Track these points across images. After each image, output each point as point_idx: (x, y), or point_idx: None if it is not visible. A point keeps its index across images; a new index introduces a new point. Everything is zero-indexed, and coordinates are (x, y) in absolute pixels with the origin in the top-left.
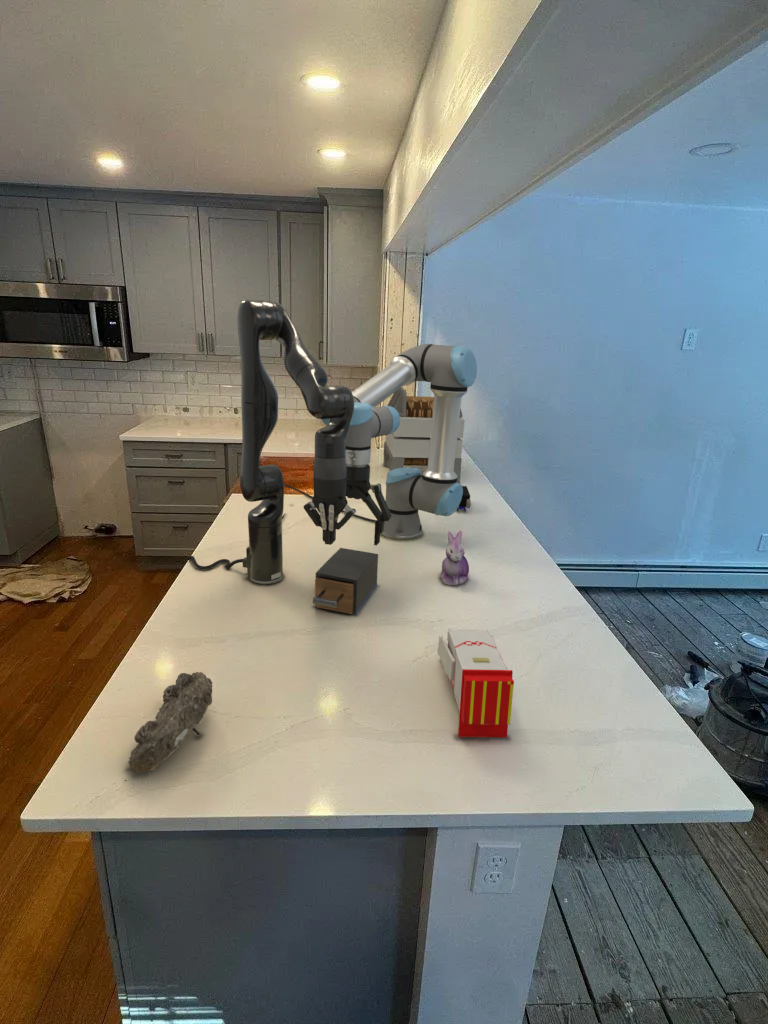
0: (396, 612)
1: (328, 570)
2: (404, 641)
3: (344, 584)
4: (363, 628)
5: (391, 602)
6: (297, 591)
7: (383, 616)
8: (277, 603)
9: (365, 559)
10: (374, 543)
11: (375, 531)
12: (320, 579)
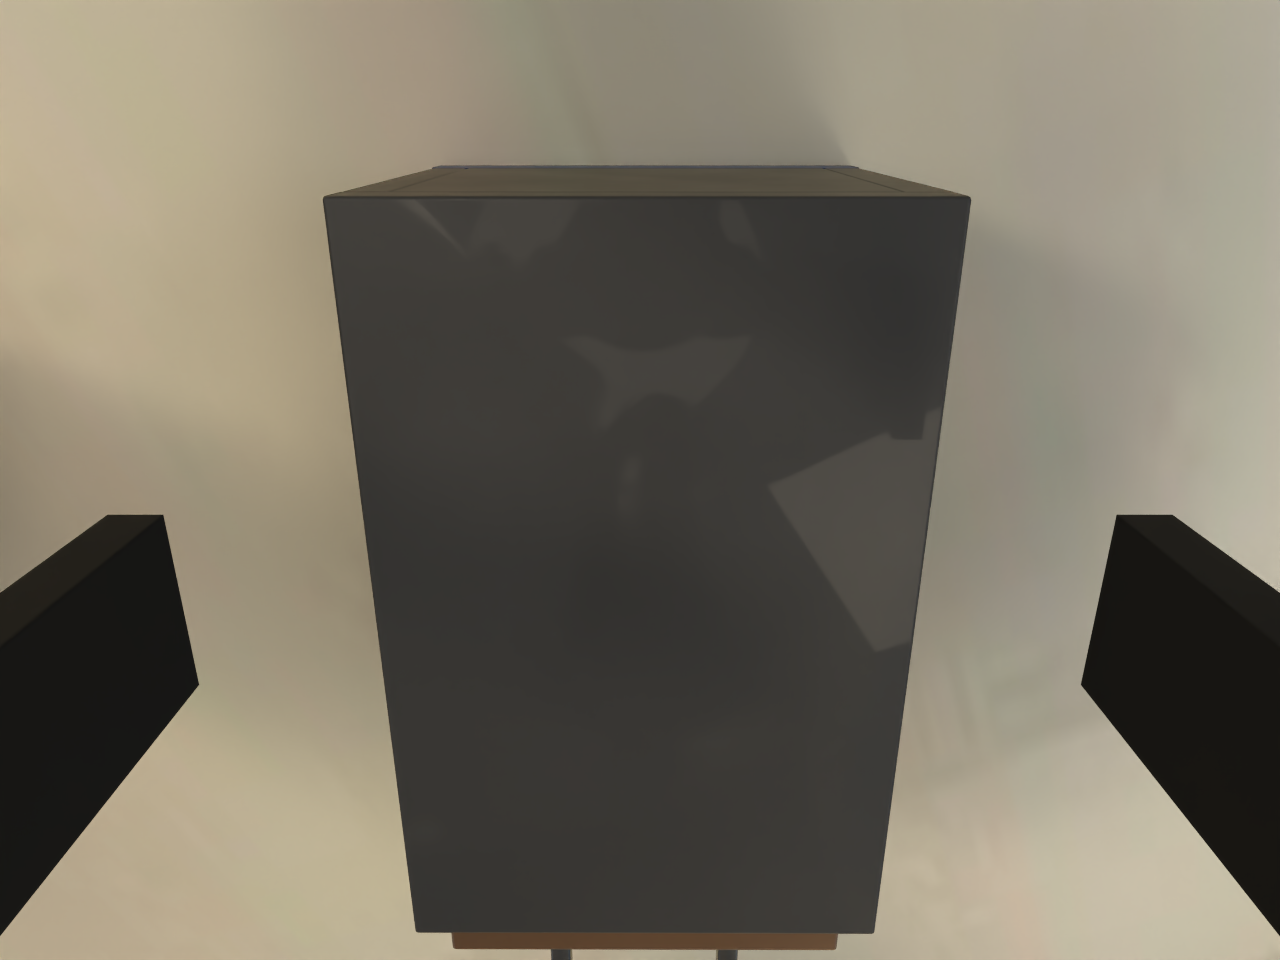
0: (1103, 563)
1: (514, 860)
2: (1187, 857)
3: (755, 949)
4: (901, 816)
5: (1043, 429)
6: (222, 536)
7: (1009, 647)
8: (206, 739)
9: (829, 459)
10: (1104, 706)
11: (1271, 896)
12: (501, 938)
